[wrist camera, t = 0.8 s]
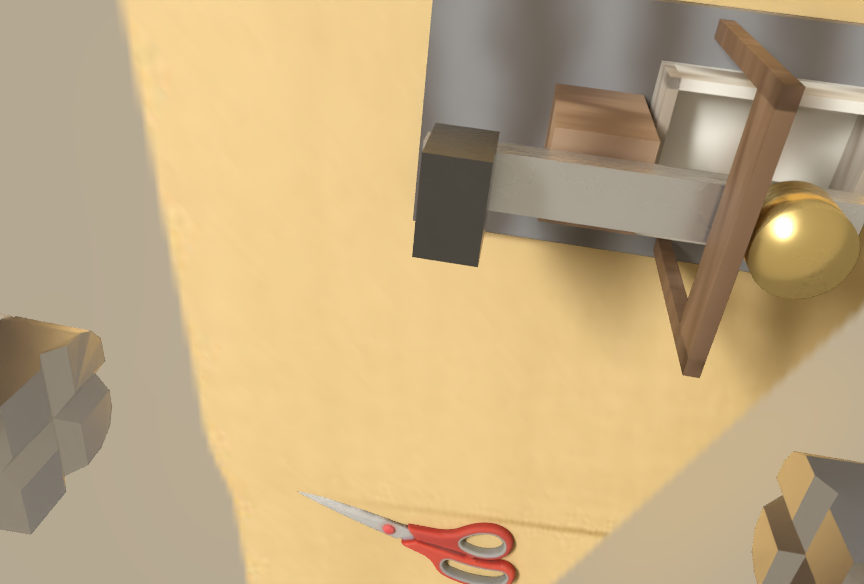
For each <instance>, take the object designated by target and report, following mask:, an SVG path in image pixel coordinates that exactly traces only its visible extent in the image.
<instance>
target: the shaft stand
mask: <svg viewBox="0 0 864 584" xmlns="http://www.w3.org/2000/svg"><path fill="white" fill-rule="evenodd" d="M435 123H442V124H449V125H456V126H463V127H470V128H477V129H484V130H491V131H498V132H500V134H499V141H498V142H505V143H512V144H519V145H526V146H533V147H540V148H547V149H554V150H561V151H568V152H575V153H582V154H589V155H596V156H603V157H610V158H617V159H624V160H631V161H638V162H645V163H652V164H659V165H666V166H673V167H680V168H687V169H694V170H701V171H708V172H715V173H722V174H729V176H728V179H727V182H726V185H725V188H724V191H723V194H722V197H721V200H720V203H719V206H718V209H717V212H716V215H715V218H714V221H713V224H712V227H711V230H710V233H709V236H708V239H707V243H702V242H695V241H688V240H682V239H675V238H668V237H662V236H655V235H648V234H642V233H635V232H629V231H622V230H615V229H609V228H602V227H595V226H589V225H582V224H575V223H569V222H562V221H556V220H549V219H542V218H536V217H529V216H522V215H516V214H509V213H502V212H496V211H489V210H488V215H487V222H486V228H485V232H492V233H498V234H505V235H512V236H518V237H525V238H531V239H538V240H544V241H551V242H557V243H564V244H570V245H577V246H583V247H590V248H597V249H603V250H610V251H616V252H623V253H629V254H636V255H642V256H649V257H655V260H656V265H657V269H658V273H659V277H660V281H661V286H662V290H663V294H664V298H665V303H666V307H667V311H668V315H669V319H670V324H671V328H672V332H673V336H674V341H675V345H676V349H677V353H678V357H679V362H680V366H681V370H682V374H683V375H685V376H691V377H697V378H700V376H701V373H702V370H703V367H704V365H705V362H706V359H707V356H708V354H709V351H710V348H711V345H712V343H713V340H714V337H715V334H716V332H717V329H718V326H719V323H720V321H721V318H722V315H723V312H724V310H725V307H726V304H727V302H728V299H729V296H730V293H731V291H732V288H733V285H734V282H735V280H736V277H737V274H738V271H739V270H740V271H747V272H750V271H749V268H748V266H747V264H746V262H745V260H744V255H745V252H746V249H747V247H748V244H749V241H750V238H751V236H752V233H753V230H754V227H755V225H756V222H757V219H758V217H759V214H760V211H761V208H762V206H763V203H764V200H765V197H766V195H767V192H768V189H769V186H770V184H771V181H778V182H784V181H804V182H809V183H812V184H814V185H816V186H818V187H820V188H827V189H834V190H841V191H848V192H855V193H860V194H861V195H862V196H863V197H864V24H862V23H854V22H846V21H838V20H830V19H822V18H814V17H806V16H798V15H790V14H782V13H774V12H766V11H758V10H750V9H742V8H734V7H726V6H718V5H710V4H702V3H694V2H686V1H678V0H433V3H432V15H431V26H430V37H429V48H428V59H427V70H426V81H425V93H424V104H423V115H422V126H421V137H420V148H419V159H418V171H417V182H416V193H415V204H414V215H413V221H416V211H417V200H418V189H419V178H420V167H421V156H422V150H423V141H424V139H425V137H426V135H427V133H428V132H432V130H433V127H434V125H435ZM677 261H682V262H688V263H695V264H699V267H698V270H697V273H696V276H695V279H694V282H693V285H692V288H691V291H690V294H689V297H688V298H687V295H686V291H685V288H684V285H683V281H682V278H681V274H680V271H679V267H678V264H677Z"/></svg>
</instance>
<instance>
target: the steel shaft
mask: <svg viewBox="0 0 864 584" xmlns="http://www.w3.org/2000/svg"><path fill="white" fill-rule="evenodd" d="M499 134H500V132H498V131H491V130H484V129H477V128H470V127H463V126H456V125H449V124H442V123H435V125H434V127H433V130H432V132H428V133H427V135H426V137H425V139H424V141H423V150H422V156H421V167H420V178H419V189H418V200H417V211H416V222H415V233H414V244H413V254H412V257H417V258H423V259H429V260H436V261H442V262H448V263H455V264H461V265H468V266H474V267H478V263H479V258H480V253H481V248H482V243H483V238H484V233H485V228H486V222H487V215H488V210H489V211H496V212H502V213H509V214H516V215H522V216H529V217H536V218H542V219H549V220H556V221H562V222H569V223H575V224H582V225H589V226H595V227H602V228H609V229H615V230H622V231H629V232H635V233H642V234H648V235H655V236H662V237H668V238H675V239H682V240H688V241H695V242H702V243H707V239H708V236H709V233H710V230H711V227H712V224H713V221H714V218H715V215H716V212H717V209H718V206H719V203H720V200H721V197H722V194H723V191H724V188H725V185H726V182H727V179H728V176H729V174H722V173H715V172H708V171H701V170H694V169H687V168H680V167H673V166H666V165H659V164H652V163H645V162H638V161H631V160H624V159H617V158H610V157H603V156H596V155H589V154H582V153H575V152H568V151H561V150H554V149H547V148H540V147H533V146H526V145H519V144H512V143H505V142H498V141H499ZM775 183H779V182H778V181H771V184H770V185H772V184H775ZM822 189H823V190H824V191H826V192H827V193H828V194H829V196H830V197H831V198H832V199H833V201H834V202H835V203H836V204H837V206H838V207H839V208H840V209H841V211H842V212H843V213H844V214H845V216H846V217H847V218H848V219H849V221H850V222H851V223H852V225H853V226H854V227H855V229H856V231H857V233H858V236H859V233H860V231H861V229H862V227H863V224H864V197H863V196H862V195H861V194H860V193H855V192H848V191H841V190H834V189H827V188H822Z"/></svg>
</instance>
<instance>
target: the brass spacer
mask: <svg viewBox="0 0 864 584" xmlns="http://www.w3.org/2000/svg"><path fill="white" fill-rule="evenodd" d="M859 252H860V240H859V236H858V233H857V231H856V229H855V227H854V226H853V225H852V223H851V222H850V221H849V219H848V218H847V217H846V216H845V214H844V213H843V212H842V211H841V209H840V208H839V207H838V206H837V204H836V203H835V202H834V201H833V199H832V198H831V197H830V196H829V194H828V193H827V192H826V191H824V190H823V189H822V188H820V187H818V186H816V185H814V184H812V183H809V182H804V181H784V182H779V183H775V184H772V185H770V186H769V189H768V192H767V195H766V197H765V200H764V203H763V206H762V208H761V211H760V214H759V217H758V219H757V222H756V225H755V227H754V230H753V233H752V236H751V238H750V241H749V244H748V247H747V249H746V252H745V255H744V260H745V262H746V264H747V266H748V268H749V271H750V273H751V275H752V277H753V279H754V280H755V282H756V283H757V284H758V285H759V286H760V287H761V288H762V289H764V290H765V291H767V292H768V293H770V294H772V295H775V296H778V297H782V298H788V299H802V298H809V297H813V296H817V295H820V294H822V293H824V292H827V291H829V290H830V289H832V288H834V287H835V286H837V285H838V284H839V283H841V282H842V281H843V280H844V279H845V278H846V277H847V276H848V275H849V274H850V272H851V271H852V269H853V268H854V266H855V264H856V262H857V259H858V256H859Z"/></svg>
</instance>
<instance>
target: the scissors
mask: <svg viewBox="0 0 864 584" xmlns="http://www.w3.org/2000/svg"><path fill="white" fill-rule="evenodd" d="M297 492H298V491H297ZM299 493H301V494H302V495H304V496H306V497H308V498H310V499H312V500H314V501H316V502H318V503H320V504H322V505H324V506H326V507H328V508H330V509H332V510H334V511H336V512H338V513H341V514H343V515H345V516H347V517H349V518H351V519H353V520H356V521H358V522H360V523H362V524H365V525H367V526H369V527H371V528H374V529H376V530H378V531H381V532H383V533H385V534H387V535H390V536H392V537H394V538H402V544H403V545H404V546H406V547H408V548H410V549H412V550H414V551H417V552H419V553H421V554H423V555H425V556H426V557H427V558H429V559H430V560H431V561H432V562H433V564H434V566H435V567H436V569H437V570H438V571H439V572H440V573H441V574H442V575H444V576H446V577H448V578H450V579H452V580H455V581H457V582H460V583H463V584H511V583H512V582H513V580H514V578H515V570H514V567H513V566H512V564H510V563H509V562H508V561H506V560H502V559H500V558H503V557H505V556H506V555H508V554H509V553H510V551H511V550H512V547H513V538H512V535H511V533H510V532H509V531H508V530H507V529H506V528H504V527H502V526H500V525H497V524H493V523H475V524H470V525H466V526H463V527H460V528H457V529H448V530H446V529H436V528H430V527H425V526H419V525H414V524H408V527H407V526H406V525H403V524H401V523H398V522H395V521H393V520H390V519H387V518H385V517H382V516H379V515H376V514H373V513H371V512H368V511H365V510H362V509H359V508H356V507H353V506H350V505H346V504H343V503H340V502H337V501H334V500H331V499H328V498H324V497H320V496H316V495H312V494H308V493H303V492H299ZM480 534H489V535H494V536H496V537H498V538H500V539H501V540H502V541H503V544H502V545H501V546H499V547H496V548H482V547H477V546H474V545H472V544H470V543H468V542H466V541H465V540H464V539H465V538H467V537H470V536H473V535H480ZM445 560H453V561H456V562H458V563H461V564H464V565H468V566H471V567H475V568H480V569H485V570H491V571H499V572H502V573H504V575H502V576H498V577H490V576H481V575H476V574H472V573H468V572H464V571H461V570H458V569H456V568H454V567H451V566H450V565H448V564H447V563H446V562H445Z"/></svg>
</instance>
